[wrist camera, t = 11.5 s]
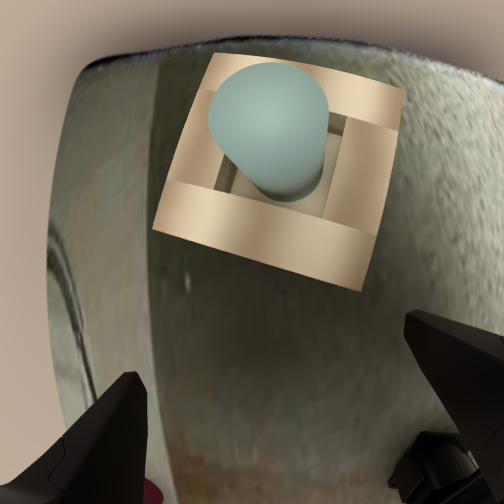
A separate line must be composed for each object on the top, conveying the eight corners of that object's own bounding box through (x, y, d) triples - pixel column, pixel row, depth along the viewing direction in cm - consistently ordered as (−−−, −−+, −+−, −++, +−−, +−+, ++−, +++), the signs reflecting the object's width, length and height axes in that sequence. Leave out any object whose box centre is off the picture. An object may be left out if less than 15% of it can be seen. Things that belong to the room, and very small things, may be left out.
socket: (390, 115, 19) (403, 89, 15) (351, 284, 20) (360, 292, 16) (228, 79, 22) (214, 52, 18) (178, 232, 22) (152, 228, 18)
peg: (337, 163, 19) (353, 105, 11) (289, 217, 20) (272, 193, 11) (282, 120, 20) (262, 46, 11) (235, 170, 21) (185, 122, 12)
